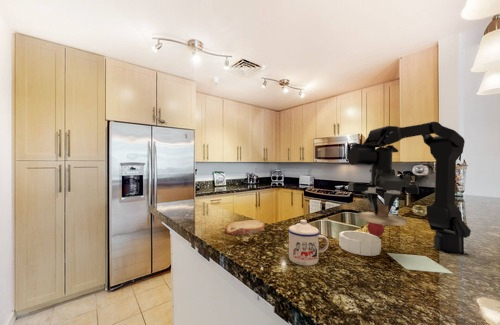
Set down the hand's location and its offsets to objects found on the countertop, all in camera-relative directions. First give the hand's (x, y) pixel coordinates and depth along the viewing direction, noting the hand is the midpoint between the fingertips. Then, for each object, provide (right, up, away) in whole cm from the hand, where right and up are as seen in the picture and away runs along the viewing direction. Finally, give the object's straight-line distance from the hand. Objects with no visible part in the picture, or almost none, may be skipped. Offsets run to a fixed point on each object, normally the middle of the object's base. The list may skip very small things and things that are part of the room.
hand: (381, 214), depth 66 cm
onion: (+9, -14, +17) cm, 24 cm away
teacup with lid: (-25, -13, -4) cm, 28 cm away
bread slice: (-44, -14, +26) cm, 53 cm away
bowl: (-5, -13, +4) cm, 14 cm away
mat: (+7, -13, -6) cm, 16 cm away
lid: (0, -2, 0) cm, 2 cm away
